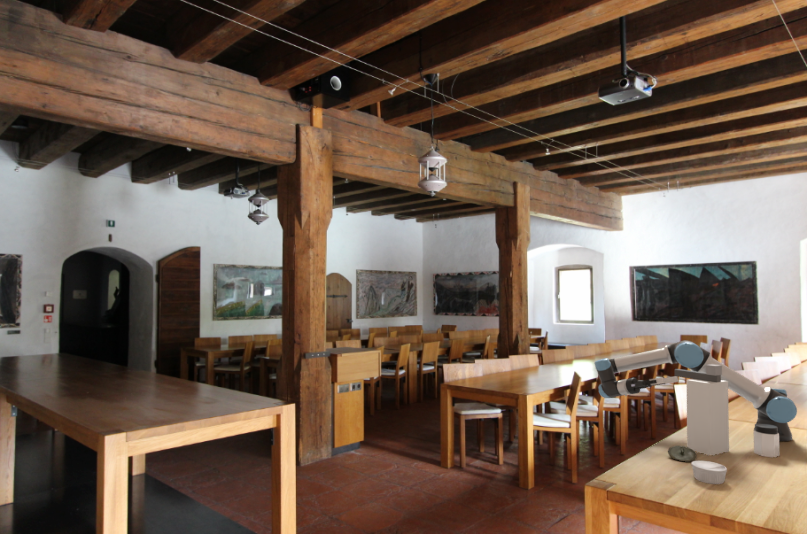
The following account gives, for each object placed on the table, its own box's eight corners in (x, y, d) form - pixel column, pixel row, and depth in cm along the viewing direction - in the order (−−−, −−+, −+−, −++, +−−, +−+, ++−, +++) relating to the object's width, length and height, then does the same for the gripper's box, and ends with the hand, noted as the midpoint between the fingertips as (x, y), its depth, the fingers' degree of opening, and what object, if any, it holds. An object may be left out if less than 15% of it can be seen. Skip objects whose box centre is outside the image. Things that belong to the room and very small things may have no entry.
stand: (705, 445, 235) (705, 377, 236) (729, 451, 226) (728, 381, 228) (687, 449, 228) (686, 379, 229) (710, 456, 219) (709, 383, 221)
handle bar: (679, 375, 242) (679, 360, 242) (722, 381, 226) (721, 365, 226) (673, 376, 239) (673, 360, 240) (715, 382, 223) (715, 366, 223)
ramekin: (727, 488, 183) (726, 472, 184) (690, 481, 189) (690, 466, 190) (727, 478, 193) (727, 464, 193) (692, 472, 199) (692, 458, 199)
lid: (695, 457, 218) (695, 445, 218) (698, 464, 209) (697, 451, 209) (667, 453, 222) (667, 441, 222) (668, 460, 213) (668, 447, 213)
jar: (772, 458, 217) (772, 429, 217) (751, 453, 224) (750, 425, 224) (782, 455, 222) (781, 426, 222) (760, 450, 229) (760, 422, 229)
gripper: (644, 392, 267) (685, 386, 252) (617, 395, 252) (660, 389, 237) (640, 377, 270) (680, 370, 254) (613, 380, 255) (655, 372, 239)
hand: (670, 379), depth 245 cm, fingers open, 13 cm apart
